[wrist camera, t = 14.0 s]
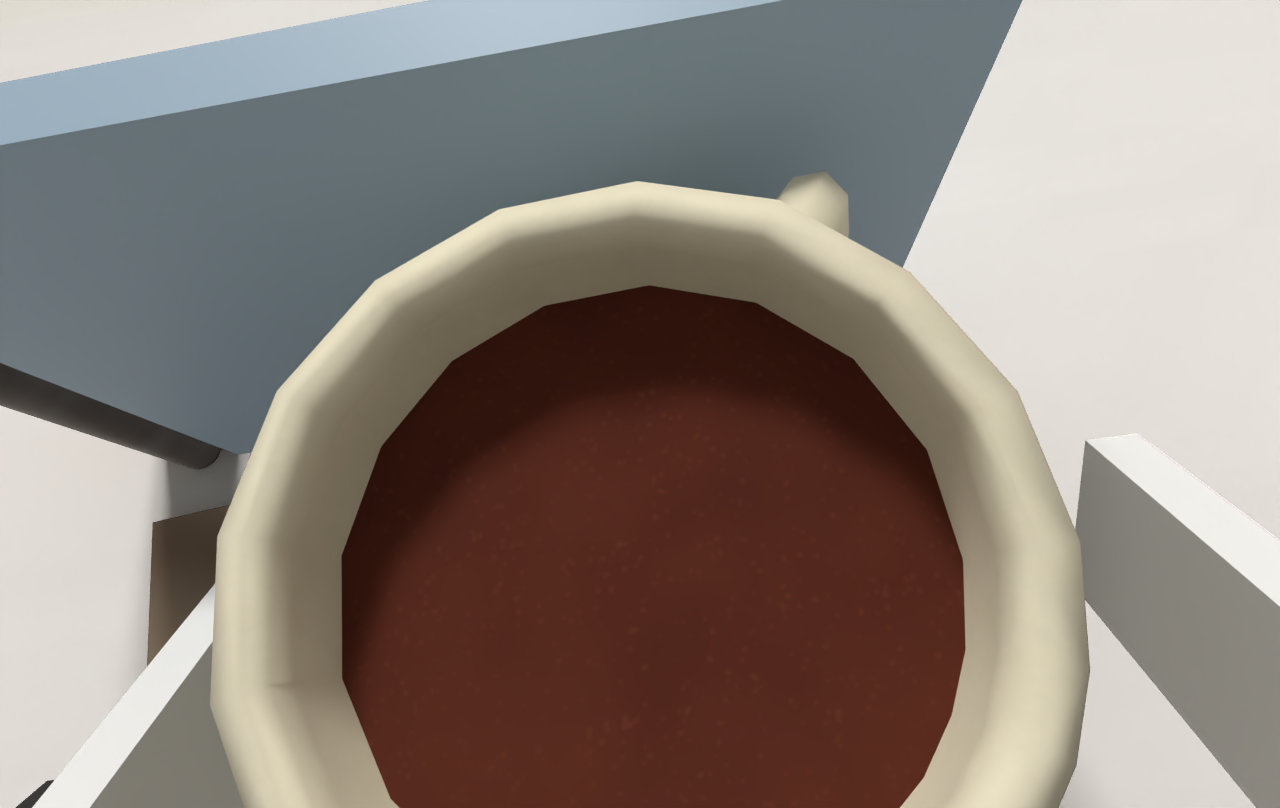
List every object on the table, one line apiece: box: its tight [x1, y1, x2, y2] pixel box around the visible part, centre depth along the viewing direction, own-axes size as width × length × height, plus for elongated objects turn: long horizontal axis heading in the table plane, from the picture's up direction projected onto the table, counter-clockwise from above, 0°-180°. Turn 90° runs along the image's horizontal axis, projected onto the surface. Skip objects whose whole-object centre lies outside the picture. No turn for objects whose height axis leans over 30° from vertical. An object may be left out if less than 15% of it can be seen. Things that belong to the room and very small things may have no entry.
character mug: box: [210, 171, 1090, 808], centre depth 12 cm, size 11×7×13 cm, turn 155°
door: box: [0, 0, 1022, 454], centre depth 14 cm, size 18×2×12 cm, turn 96°
